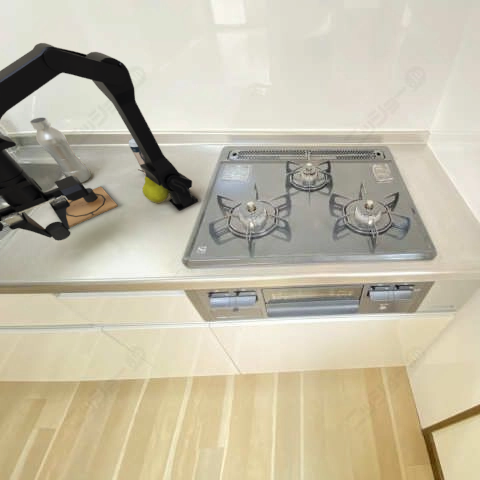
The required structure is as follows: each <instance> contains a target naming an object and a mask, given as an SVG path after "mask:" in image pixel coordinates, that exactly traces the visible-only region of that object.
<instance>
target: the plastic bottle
mask: <svg viewBox="0 0 480 480" xmlns="http://www.w3.org/2000/svg"><path fill="white" fill-rule="evenodd" d="M29 123H30V124H31V126H32V128H33V129H34V130H35V131H36V133H35V134H36V135H35V139H36V142H37V143H38V144H39V146H41V147H42V148H43V150H45V151H46V152H47V153H48V154H49V156H50V157H52V158H53V160H54V161H55V163H57V165H58V167H59V168H60V170H61V172H62V174H63V176H64V178H66V177H69V176H75V177H77V178H78V180H79V181H80V182H81V183H84V182H87V181H88V180H89V179H90V178H91V177H92V176H91V175H92V173H91V170H90V169H89V167H88V166H87V165H86V164H84V163H83V162H82V160H81V159H80V158H79V157H78V156H77V155H76V153H75V152H74V150H73V148H72V147H71V145H70V143H69V141H68V138H67V137H66V136H65V134H64V133H63V132H62V131H61V130H59V129H57V128H54V127H52V126H51V122H49V121H48V118H46V117H37V118H33V119H31V120H30V121H29Z"/></svg>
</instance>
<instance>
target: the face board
mask: <svg viewBox="0 0 480 480" xmlns="http://www.w3.org/2000/svg"><path fill="white" fill-rule="evenodd" d="M92 190H93V191H94V193H95V194H96V196H97V197H98V198H97V200H95V201H93V202H86V201H85V200H84V198H81V199H78V200H76V201H71V200H68V199H67V201H68V202H69V204H70V207H68V208H66V217H67V221H68V224H69V228H70V229H71V228H72V227H74V226H77V225H79V224H81V223H84V222H85V221H88V220H90V219H93V218H94V217H97V216H99V215H101V214H103V213H106V212H108V211H110V210H113V209H115V208H117V207H118V204H117V203H116V202H115V201H114V200H113V199H112V197H111V196H110V195H109V194H108V192H106V191H105V189H104V188H103V187H102V186H101V185H100V186H98V187H96V188H93V189H92Z"/></svg>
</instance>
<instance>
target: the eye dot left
mask: <svg viewBox="0 0 480 480" xmlns="http://www.w3.org/2000/svg"><path fill="white" fill-rule="evenodd" d="M44 229H45V230H46V231H47V232H48V233H49V234H50V235H51V236H52V237H51V238H53V240H55V241H59V242H60V241H64V240H65V239H67V238H69V237H71V236H70V235H71V233H72V232H71V231H70V229H69V230H68V229H67V228H65V226H64V225H63V224H62V222H61V221H53V222H51V223H49V224H47V225H46V226H45V227H44Z"/></svg>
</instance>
